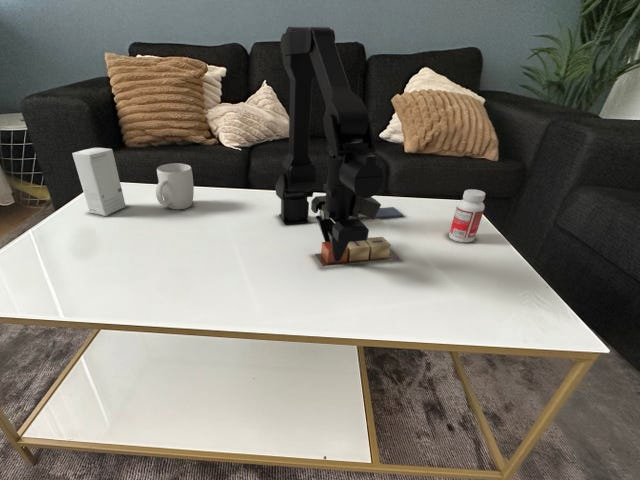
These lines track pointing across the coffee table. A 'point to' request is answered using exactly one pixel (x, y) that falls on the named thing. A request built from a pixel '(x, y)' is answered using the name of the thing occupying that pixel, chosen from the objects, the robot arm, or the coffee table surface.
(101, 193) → the cosmetic box
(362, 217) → the far word
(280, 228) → the coffee table surface
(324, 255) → the red wooden cube
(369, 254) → the near word
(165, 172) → the mug
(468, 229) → the pill bottle
